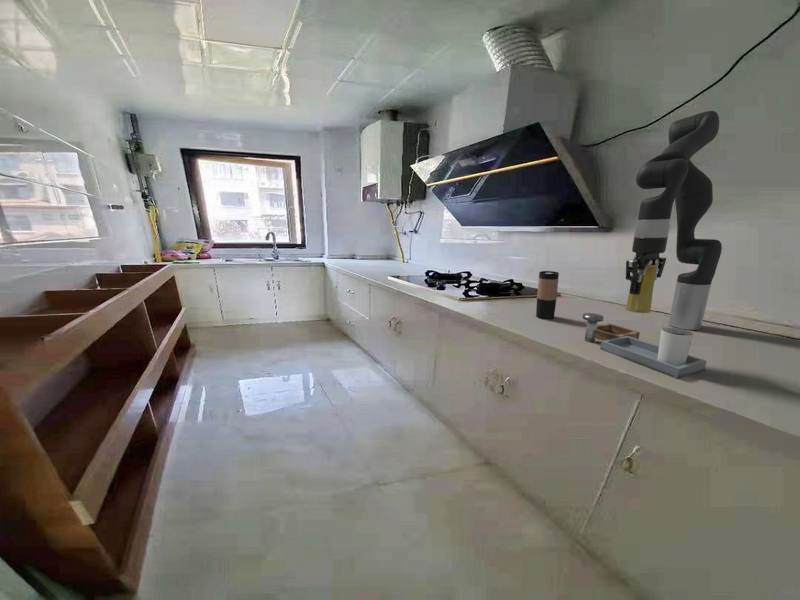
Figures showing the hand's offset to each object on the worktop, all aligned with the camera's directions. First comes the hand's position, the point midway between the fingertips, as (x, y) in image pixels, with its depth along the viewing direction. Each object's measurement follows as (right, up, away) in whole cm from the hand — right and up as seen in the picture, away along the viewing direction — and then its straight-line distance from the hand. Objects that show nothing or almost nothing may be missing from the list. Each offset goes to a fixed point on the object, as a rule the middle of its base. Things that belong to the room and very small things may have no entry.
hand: (640, 292), depth 89 cm
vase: (0, -6, +1) cm, 6 cm away
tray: (+2, -20, 0) cm, 20 cm away
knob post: (-6, -16, +15) cm, 23 cm away
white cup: (+4, -21, -5) cm, 22 cm away
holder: (+3, -16, +17) cm, 23 cm away
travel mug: (-9, -10, +42) cm, 44 cm away
